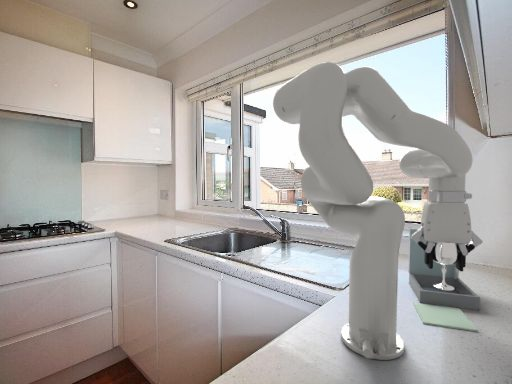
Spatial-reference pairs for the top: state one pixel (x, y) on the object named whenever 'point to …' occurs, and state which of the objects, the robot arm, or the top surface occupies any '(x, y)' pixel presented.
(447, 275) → the case
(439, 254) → the wineglass
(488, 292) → the top surface
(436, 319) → the mat
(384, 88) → the robot arm
